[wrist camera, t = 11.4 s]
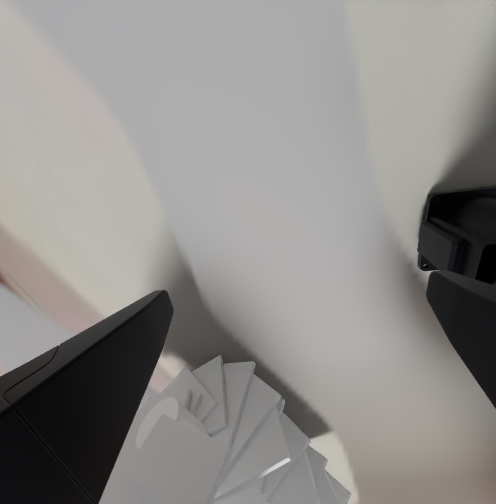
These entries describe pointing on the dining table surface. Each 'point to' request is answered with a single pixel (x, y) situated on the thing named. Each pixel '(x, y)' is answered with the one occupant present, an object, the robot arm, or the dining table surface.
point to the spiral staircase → (219, 446)
